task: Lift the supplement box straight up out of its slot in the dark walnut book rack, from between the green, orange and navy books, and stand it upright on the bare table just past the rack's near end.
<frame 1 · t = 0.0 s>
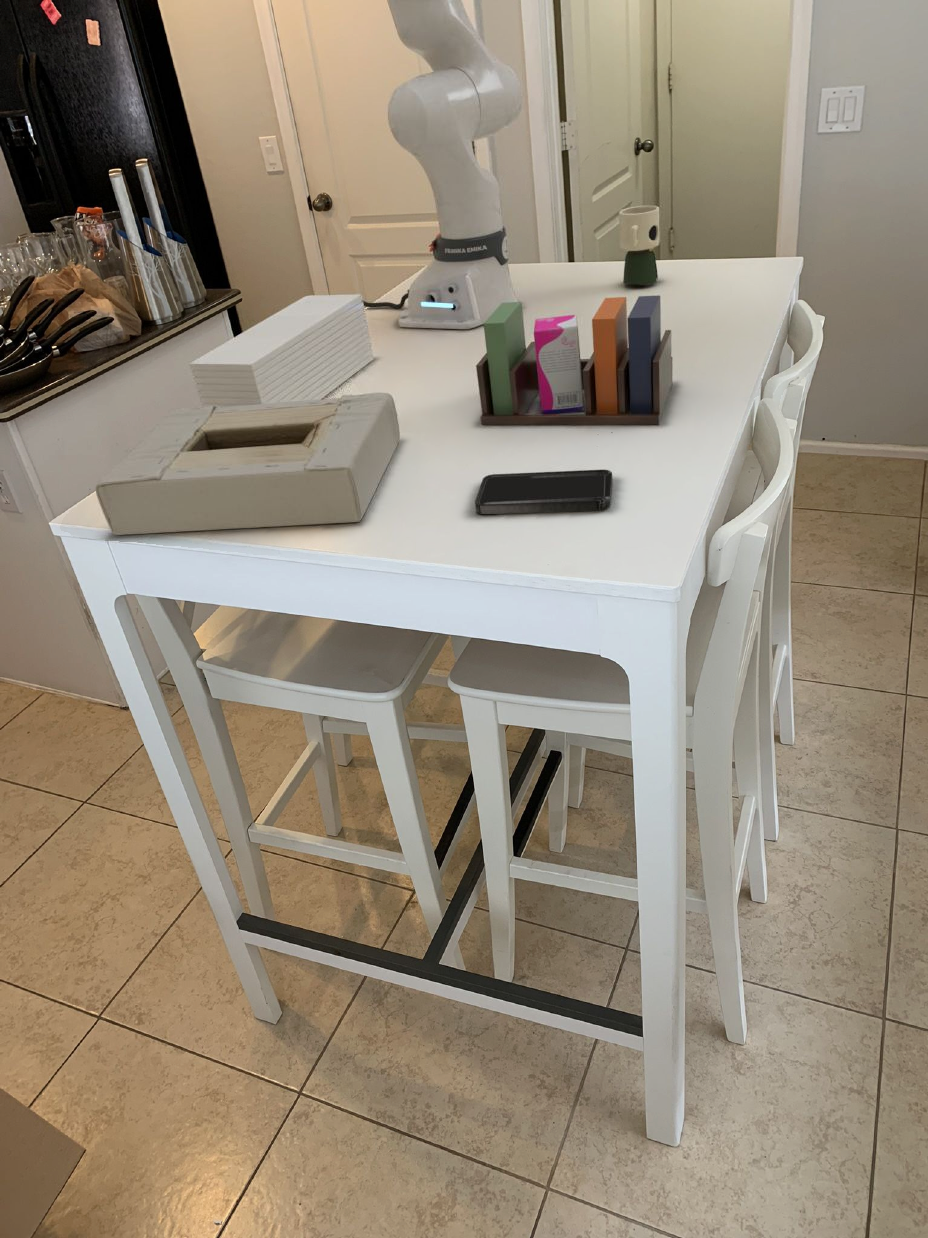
white long layered block: (298, 395, 143), on the table
orange book: (613, 404, 123), resting in book rack
supplement box: (562, 406, 125), resting in book rack
green book: (512, 405, 127), resting in book rack
phone: (544, 497, 103), on the table
navy book: (646, 404, 121), resting in book rack
box: (265, 487, 116), on the table
character mug: (640, 285, 169), on the table
book rack: (577, 404, 124), on the table
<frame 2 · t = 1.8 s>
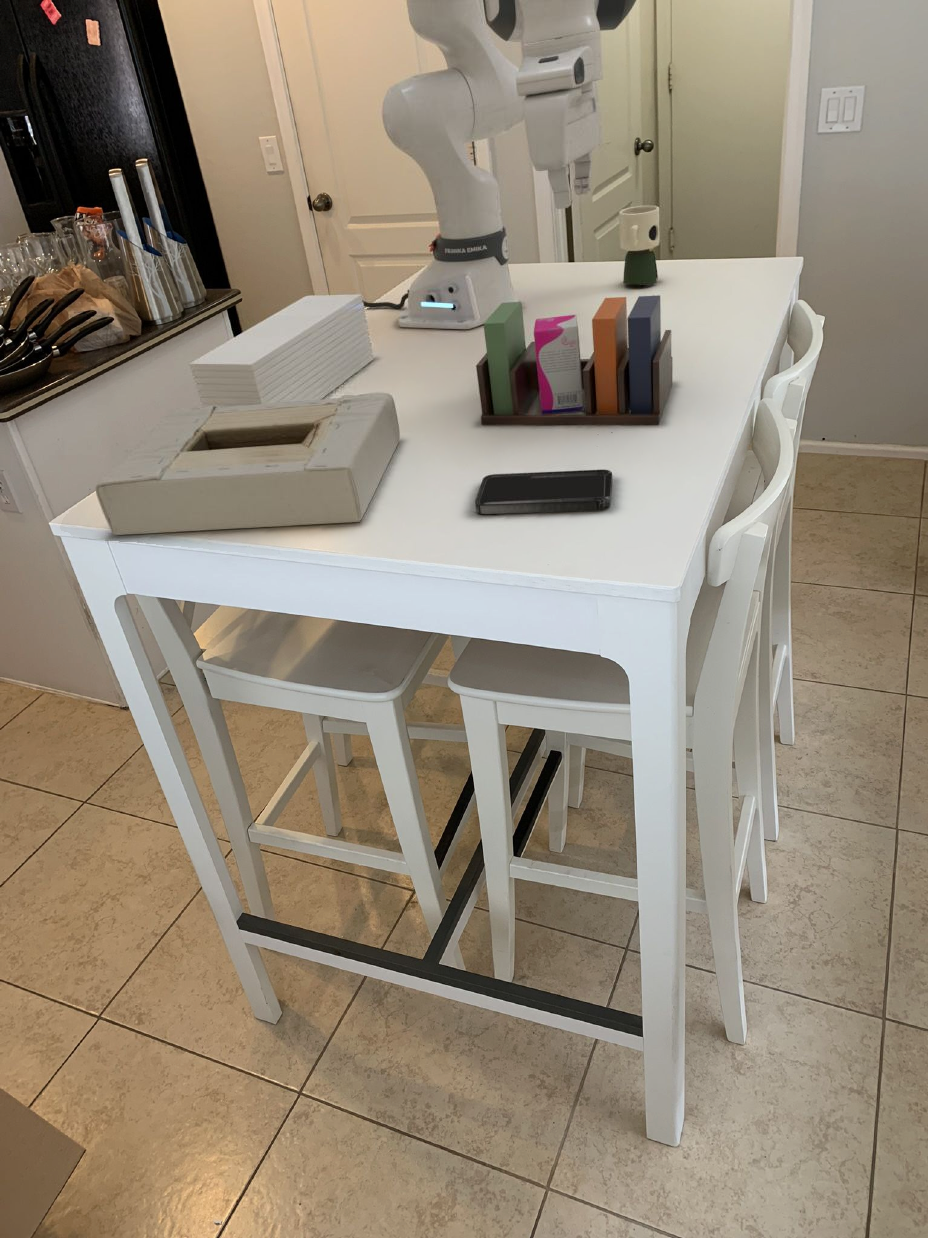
hand: (573, 199, 110), 26 cm above the table, tool pointing down, fingers open, 8 cm apart
nothing on the table moved.
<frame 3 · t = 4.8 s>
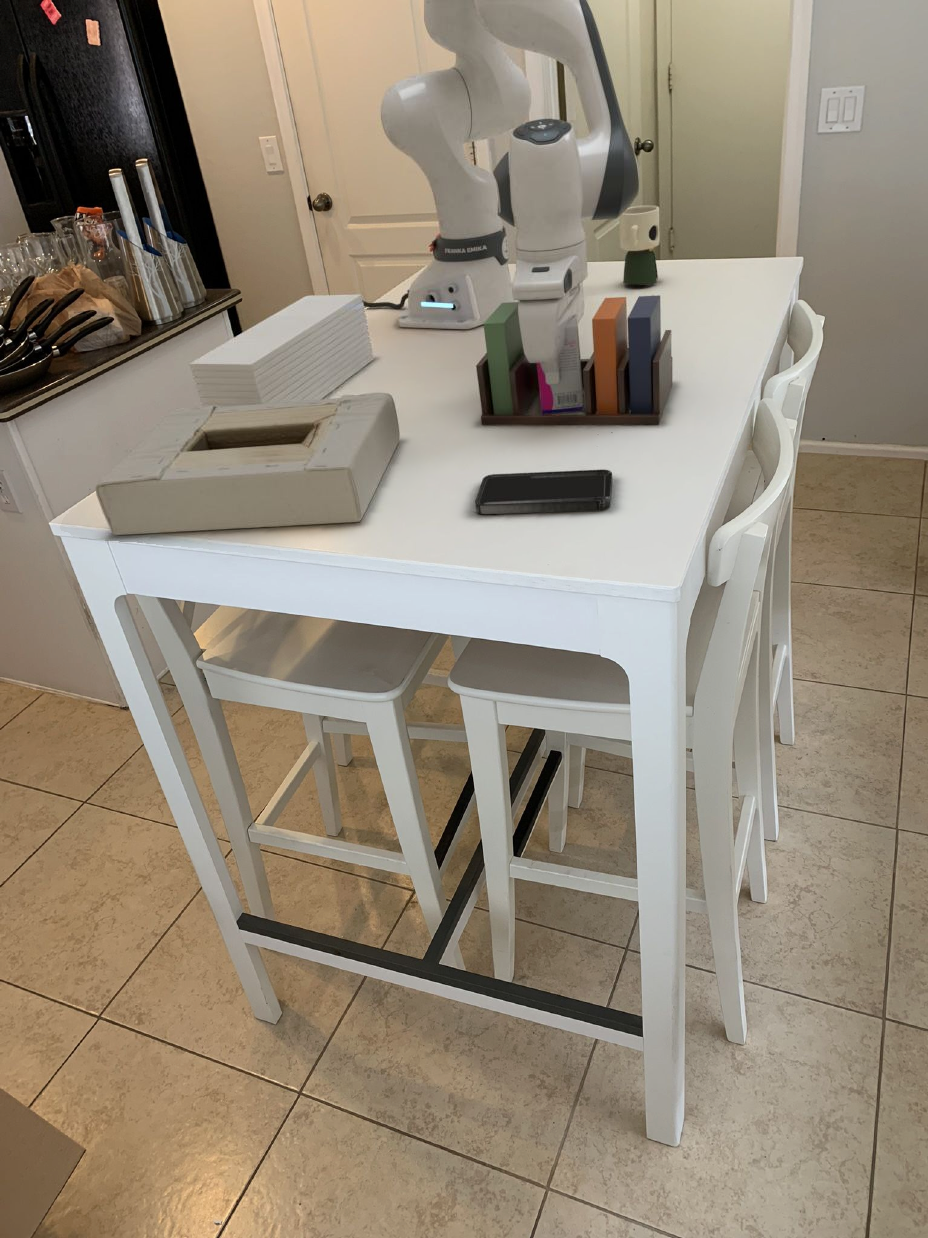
hand: (560, 372, 122), 5 cm above the table, tool pointing down, fingers closed on supplement box, 6 cm apart
supplement box: (562, 406, 125), resting in book rack, touching gripper
everything else where it was.
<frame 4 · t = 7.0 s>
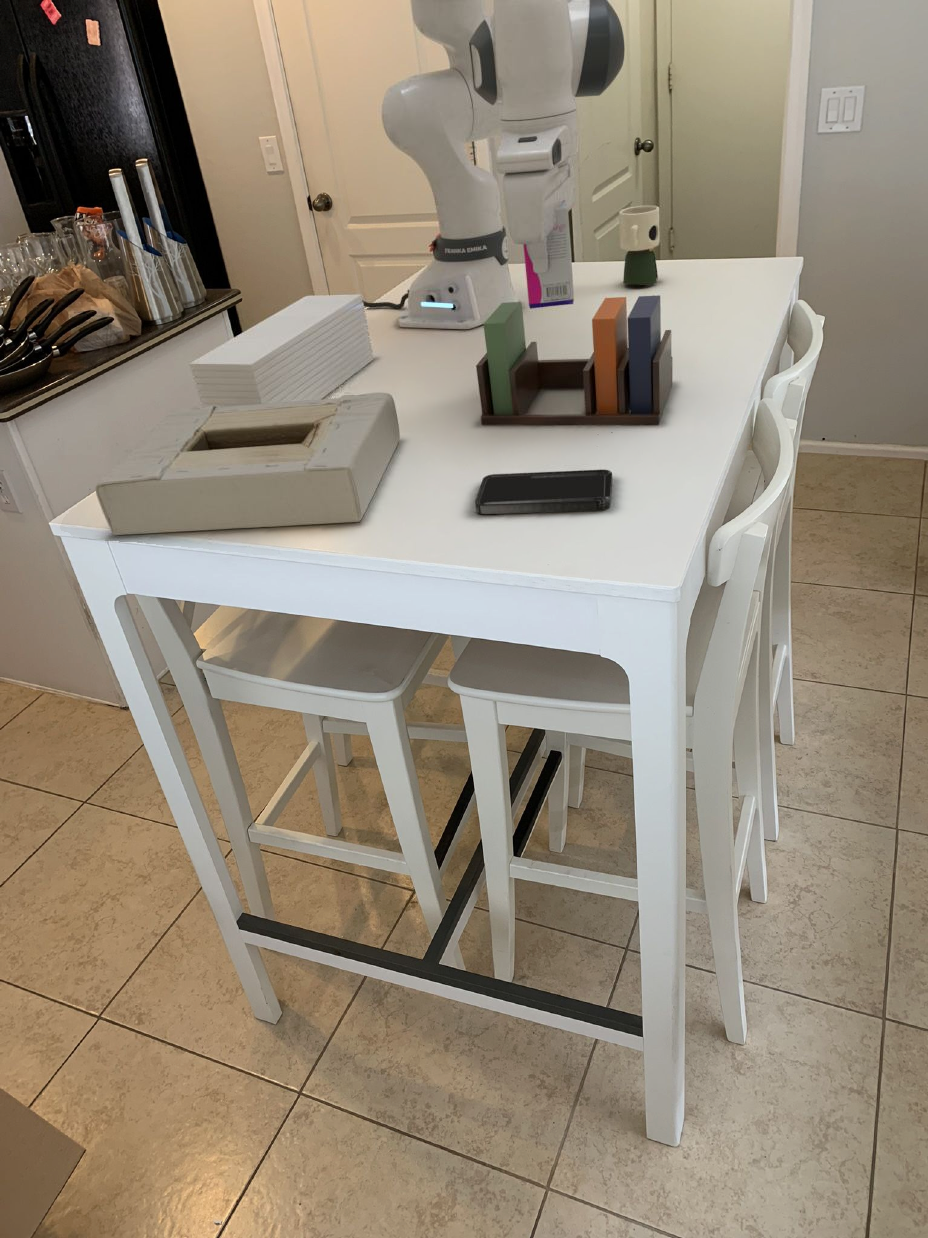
hand: (548, 262, 115), 19 cm above the table, tool pointing down, fingers closed on supplement box, 6 cm apart
supplement box: (551, 301, 118), point 14 cm above the table, touching gripper
everything else where it was.
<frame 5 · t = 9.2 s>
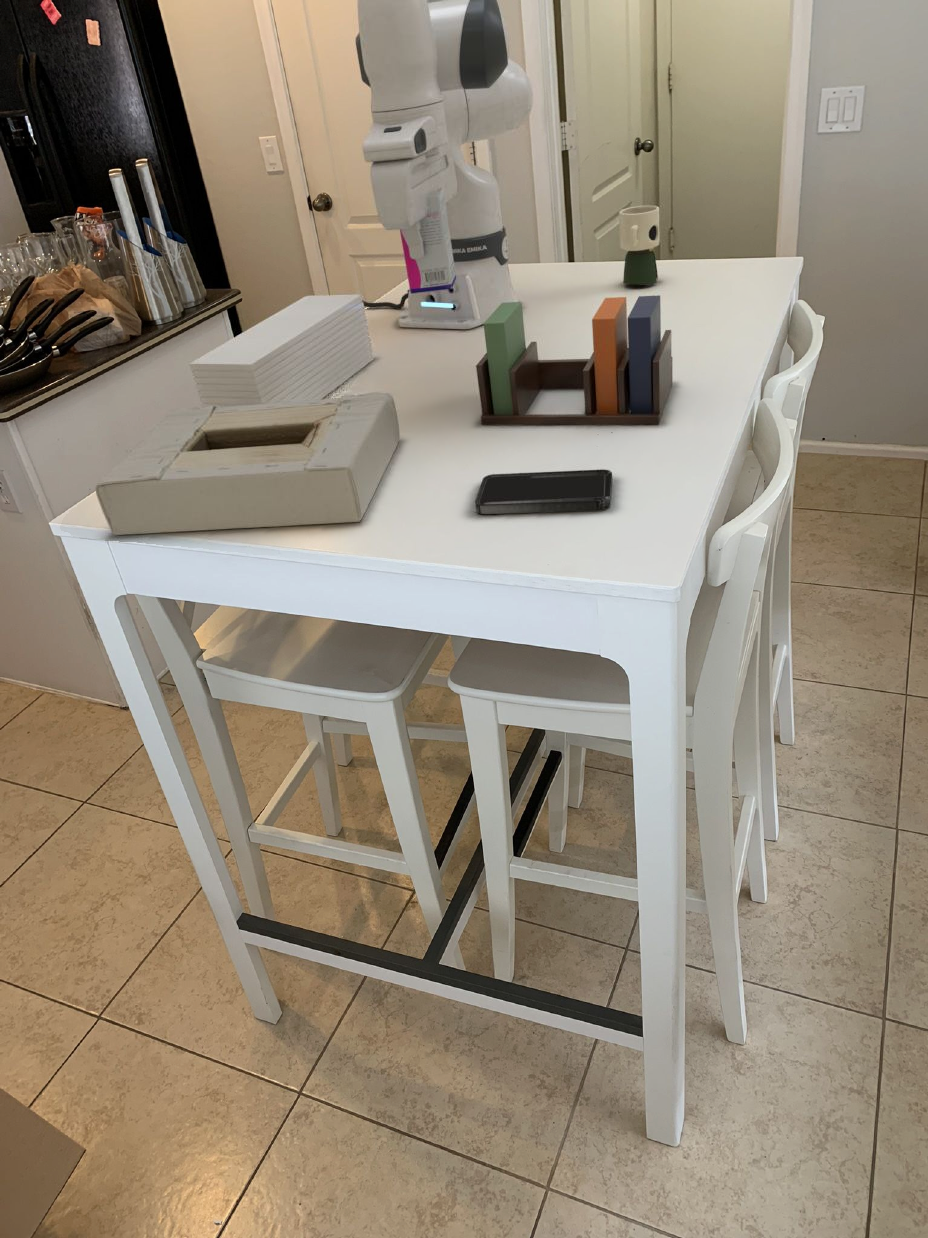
hand: (428, 249, 119), 21 cm above the table, tool pointing down, fingers closed on supplement box, 6 cm apart
supplement box: (433, 287, 122), point 16 cm above the table, touching gripper
everything else where it was.
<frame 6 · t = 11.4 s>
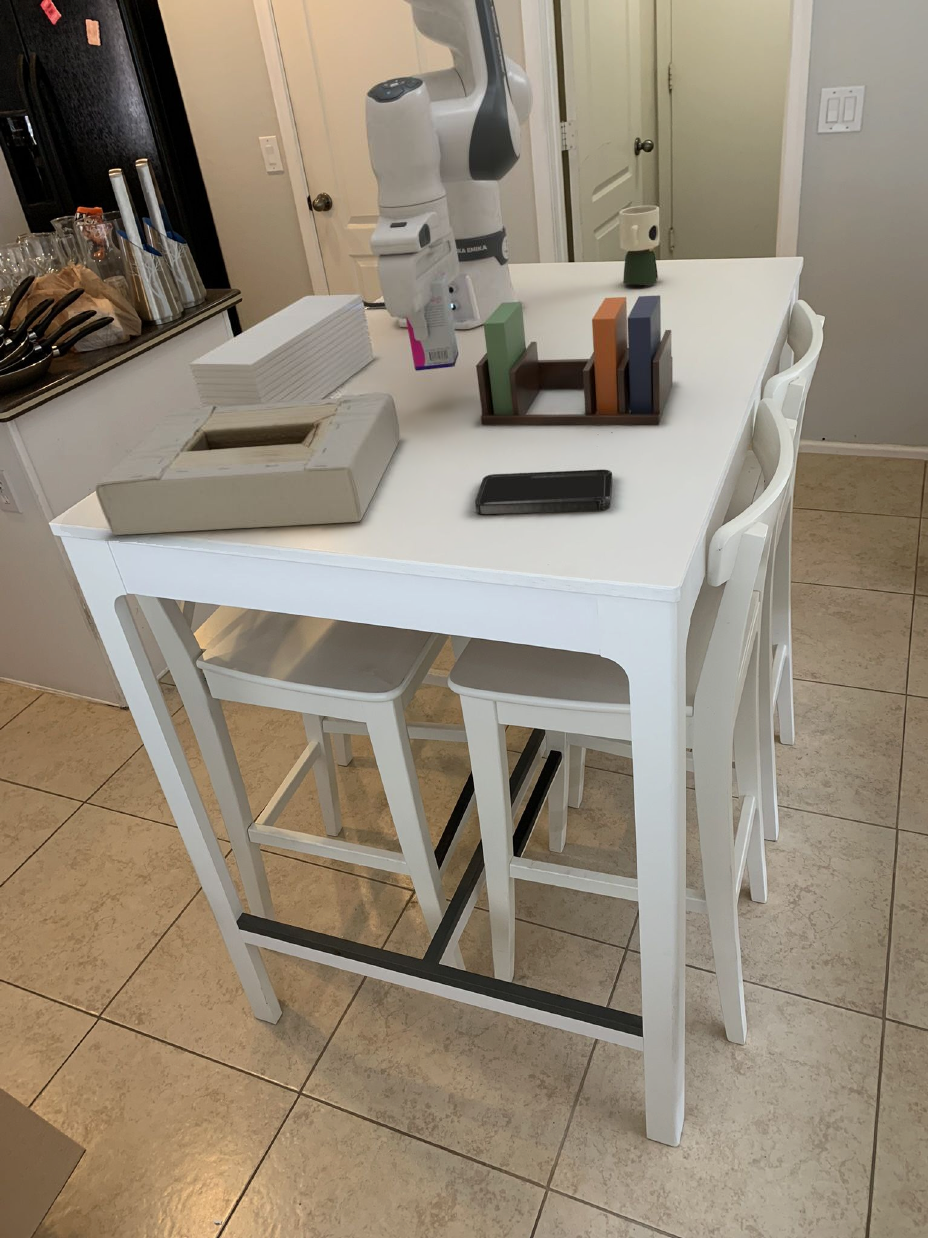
hand: (432, 329, 126), 11 cm above the table, tool pointing down, fingers closed on supplement box, 6 cm apart
supplement box: (437, 363, 128), point 6 cm above the table, touching gripper
everything else where it was.
when the fingers open (4 cm above the table, at t = 13.5 s): supplement box stays where it is, on the table.
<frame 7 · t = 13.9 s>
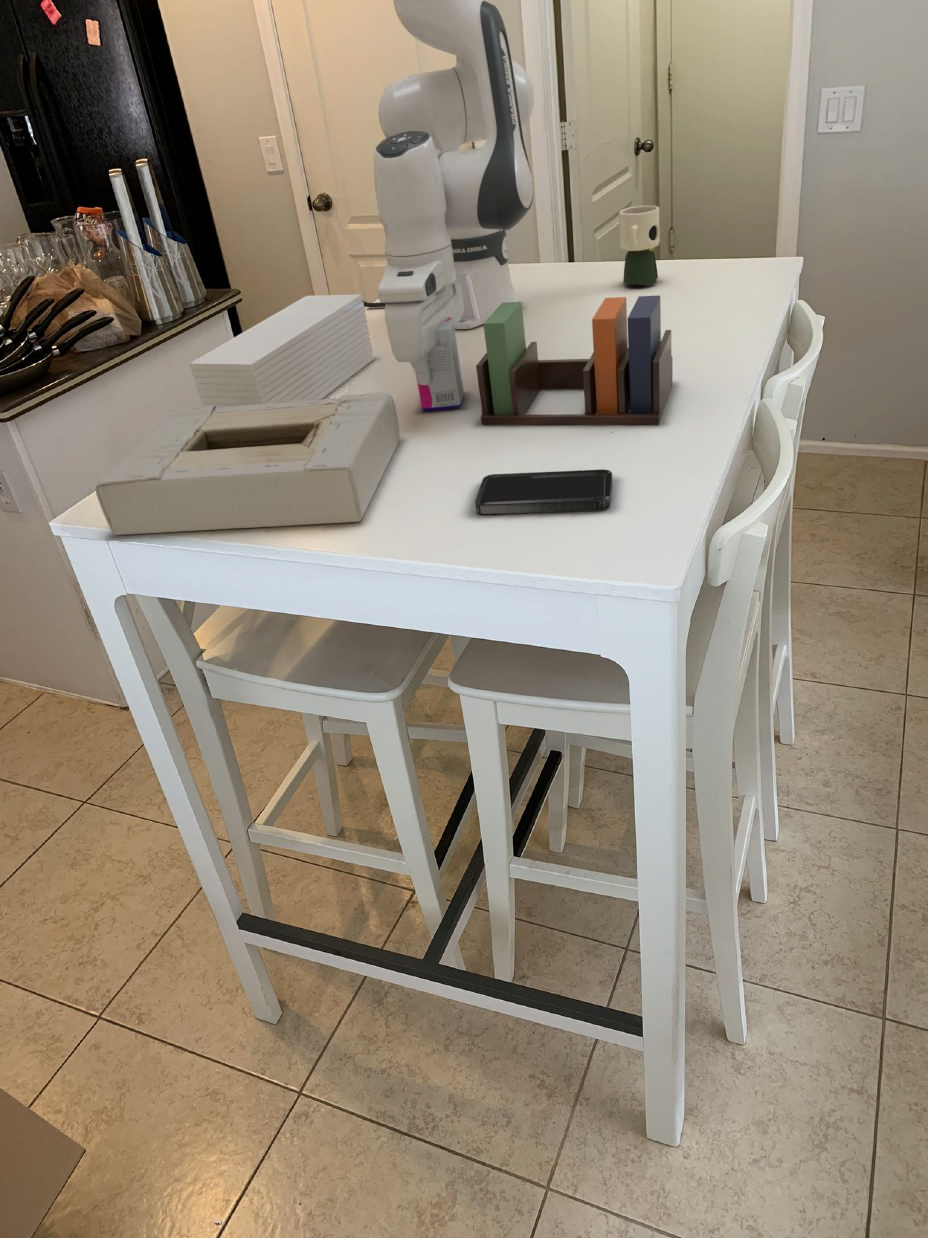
hand: (437, 370, 129), 5 cm above the table, tool pointing down, fingers open, 8 cm apart
supplement box: (443, 404, 132), on the table
everything else where it was.
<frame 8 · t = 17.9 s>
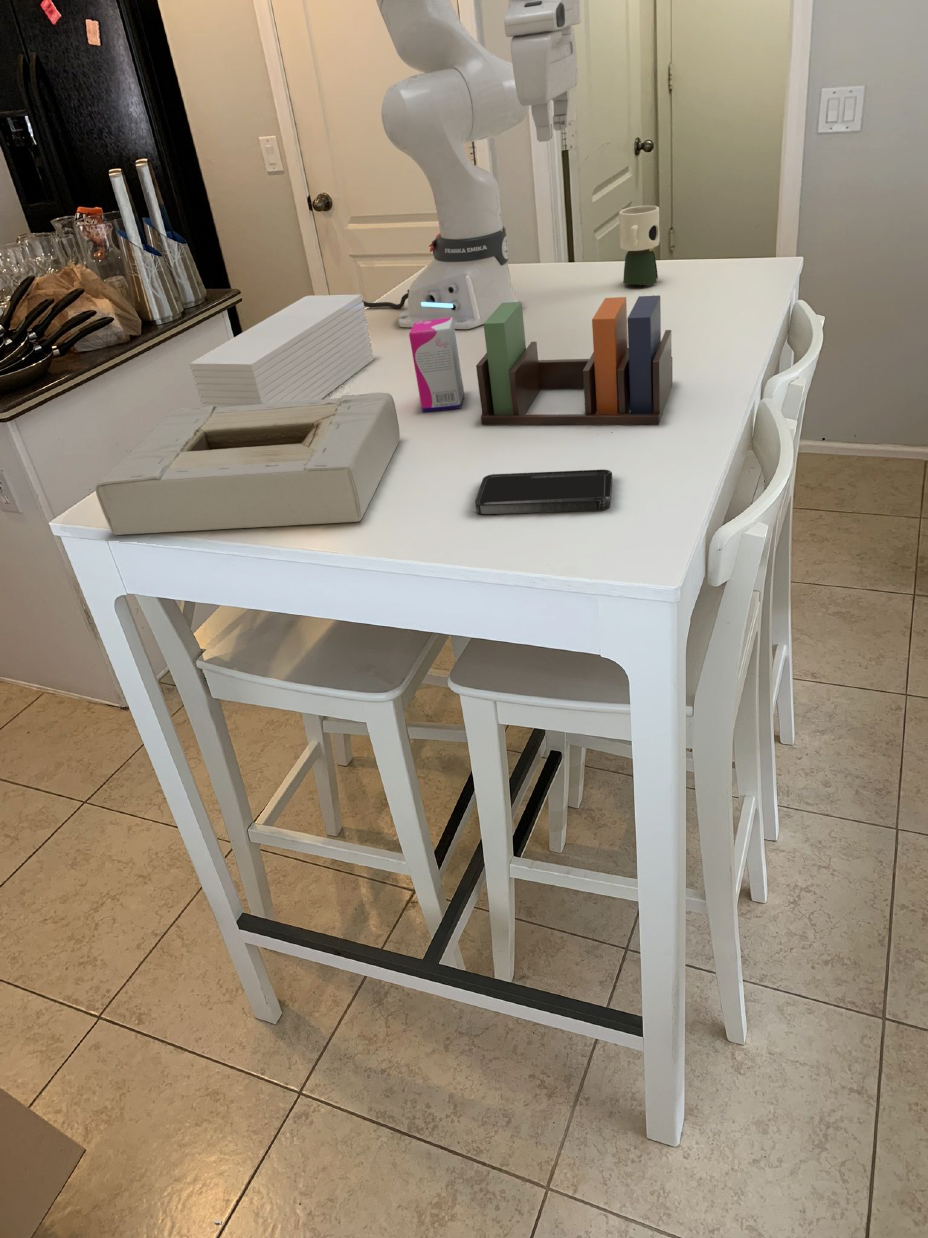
hand: (553, 134, 122), 31 cm above the table, tool pointing down, fingers open, 8 cm apart
nothing on the table moved.
at the end: supplement box inside the target area (0.1 cm from its centre), on the table; supplement box tilted 0°; the gripper is holding nothing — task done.
